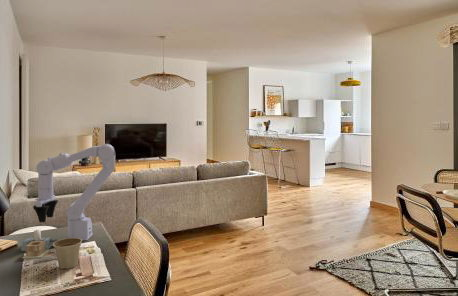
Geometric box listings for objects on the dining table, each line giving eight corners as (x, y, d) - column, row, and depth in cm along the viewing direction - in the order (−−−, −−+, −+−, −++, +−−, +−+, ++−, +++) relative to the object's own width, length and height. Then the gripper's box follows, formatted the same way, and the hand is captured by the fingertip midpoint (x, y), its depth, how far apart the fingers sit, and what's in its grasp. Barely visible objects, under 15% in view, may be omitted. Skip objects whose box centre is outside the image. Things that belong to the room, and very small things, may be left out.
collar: (45, 250, 138) (45, 241, 138) (39, 255, 133) (39, 245, 133) (32, 251, 138) (31, 241, 137) (26, 256, 133) (25, 246, 132)
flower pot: (89, 262, 127) (87, 238, 127) (69, 273, 119) (68, 248, 118) (68, 259, 130) (67, 236, 130) (47, 269, 122) (46, 245, 121)
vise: (61, 243, 147) (61, 227, 147) (54, 249, 140) (53, 232, 140) (30, 244, 146) (29, 228, 146) (21, 251, 140) (19, 233, 139)
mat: (49, 250, 139) (49, 249, 139) (41, 257, 132) (41, 256, 132) (31, 251, 139) (31, 250, 139) (22, 258, 132) (22, 257, 132)
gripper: (43, 185, 156) (43, 215, 157) (27, 191, 142) (28, 224, 143) (59, 185, 157) (60, 215, 158) (46, 191, 142) (46, 224, 143)
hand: (46, 219), depth 150 cm, fingers open, 7 cm apart
